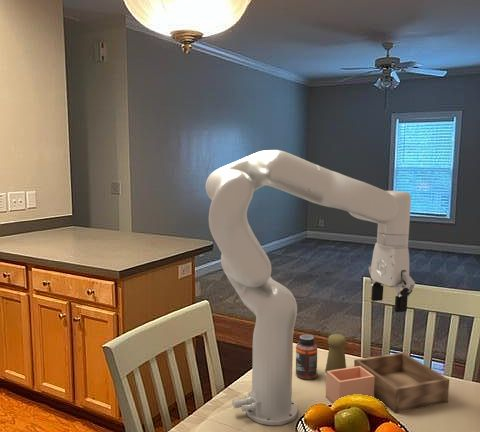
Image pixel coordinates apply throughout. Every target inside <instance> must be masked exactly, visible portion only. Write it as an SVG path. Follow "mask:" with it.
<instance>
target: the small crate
mask: <svg viewBox="0 0 480 432" xmlns="http://www.w3.org/2000/svg"><path fill="white" fill-rule="evenodd" d="M325 378H326V379H325V398H326V399H327V400H328V401H329V402H330V403H331V404H332V403H334V402H335V401H336V400H338V399H339V398H341V397H344V396H347V395H353V394H362V395H368V396H372V397H374V381H375V376H373V375H372V374H371V373H369V372H368V371H367V370H365V369H364V368H362V367H361V366H356V367H354V366H351V367H346V368H344V369H337V370H331V371H326V372H325ZM374 398H375V397H374Z"/></svg>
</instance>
